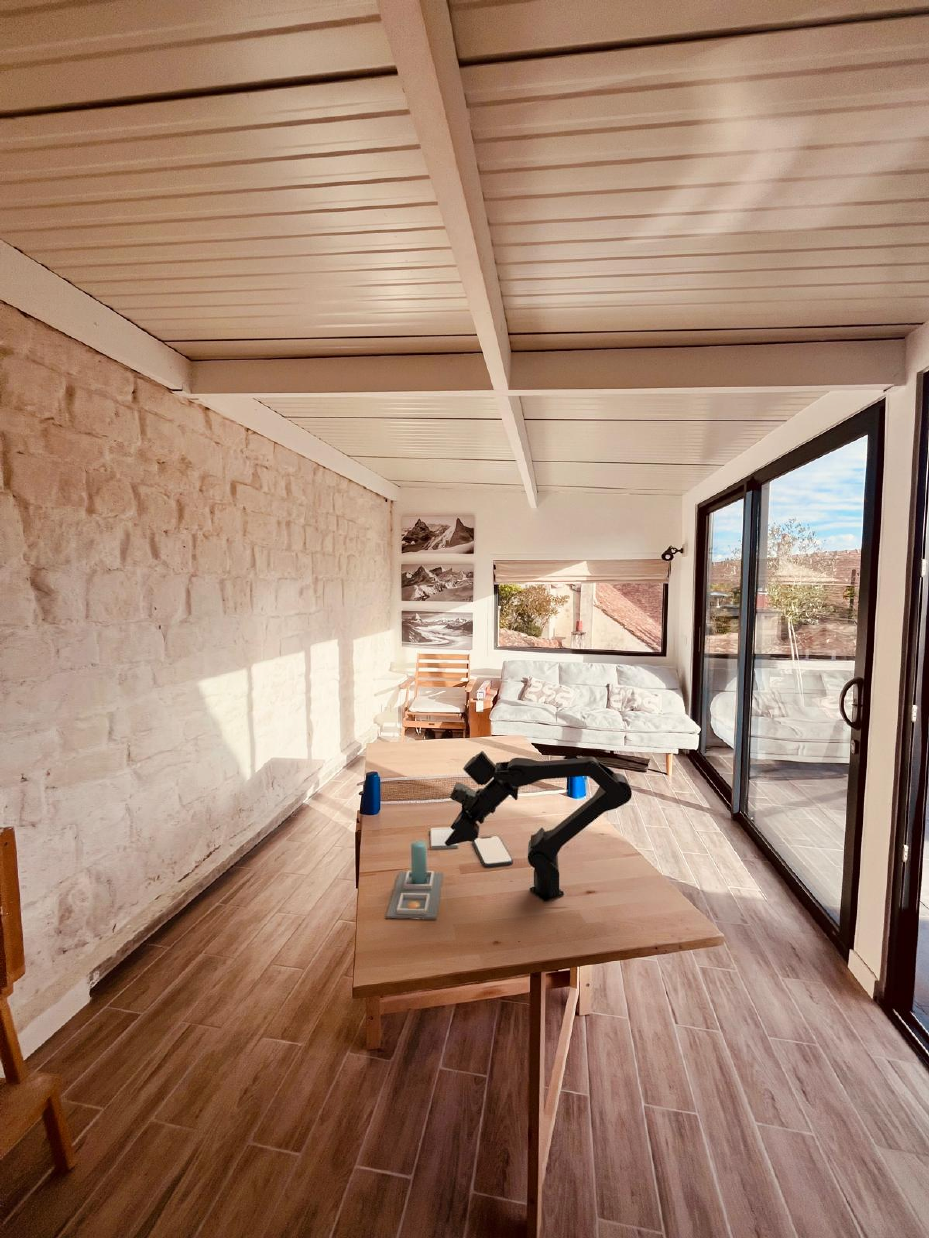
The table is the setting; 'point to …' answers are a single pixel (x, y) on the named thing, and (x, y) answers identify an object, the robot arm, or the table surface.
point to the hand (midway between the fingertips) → (448, 836)
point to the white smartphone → (492, 852)
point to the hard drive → (441, 838)
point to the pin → (418, 863)
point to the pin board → (415, 897)
